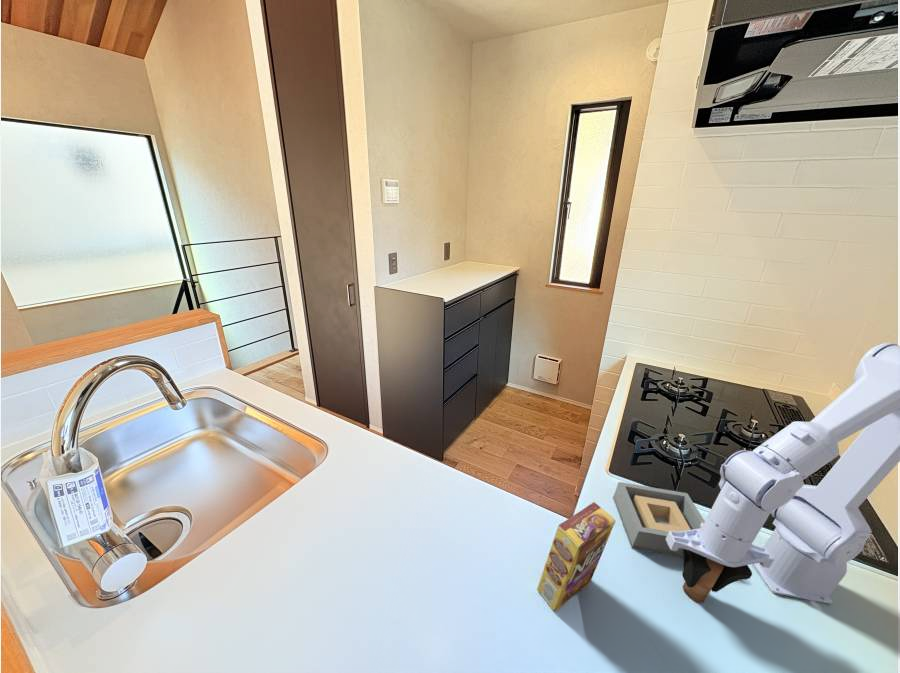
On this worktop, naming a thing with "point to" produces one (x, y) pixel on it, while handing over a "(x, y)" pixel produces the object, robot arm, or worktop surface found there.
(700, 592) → the peg
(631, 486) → the tray
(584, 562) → the candy box
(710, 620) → the worktop surface
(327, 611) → the worktop surface
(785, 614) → the worktop surface
